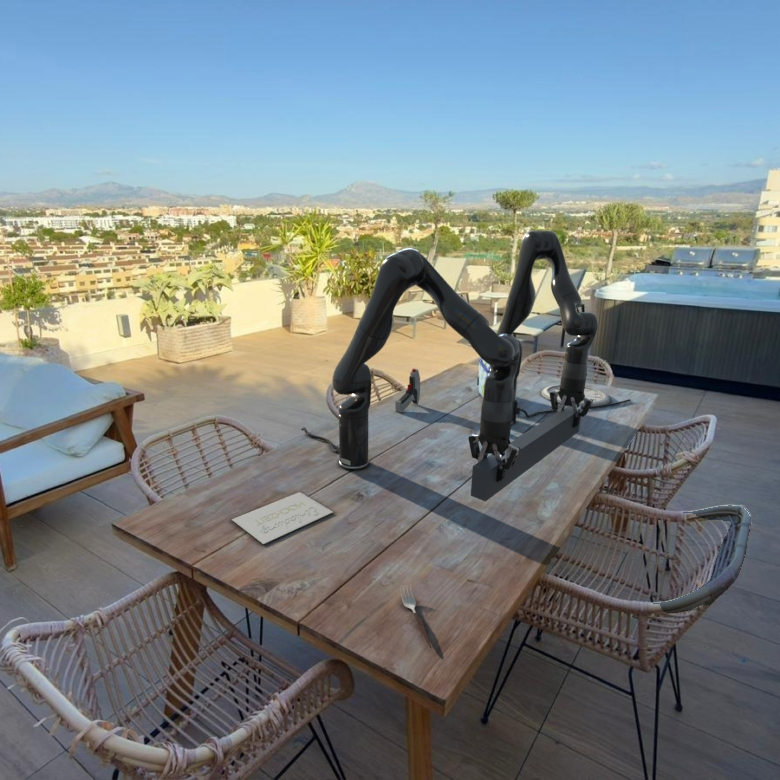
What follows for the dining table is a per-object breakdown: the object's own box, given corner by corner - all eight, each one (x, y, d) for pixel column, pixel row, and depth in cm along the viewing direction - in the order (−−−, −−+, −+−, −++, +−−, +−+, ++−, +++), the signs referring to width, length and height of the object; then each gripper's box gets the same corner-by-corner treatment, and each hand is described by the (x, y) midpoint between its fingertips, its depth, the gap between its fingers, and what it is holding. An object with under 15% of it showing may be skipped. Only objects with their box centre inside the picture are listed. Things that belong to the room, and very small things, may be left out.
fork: (423, 651, 94) (424, 642, 93) (398, 593, 109) (398, 585, 108) (437, 648, 95) (437, 639, 94) (410, 591, 109) (411, 583, 109)
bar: (566, 428, 178) (569, 405, 176) (578, 431, 175) (582, 408, 173) (470, 495, 132) (472, 465, 130) (485, 501, 129) (488, 471, 127)
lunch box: (475, 390, 246) (478, 346, 240) (498, 390, 246) (501, 347, 240) (484, 408, 221) (487, 360, 215) (509, 409, 221) (513, 360, 215)
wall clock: (623, 402, 226) (556, 403, 224) (623, 406, 227) (556, 407, 224) (592, 383, 255) (532, 383, 252) (591, 386, 255) (532, 386, 253)
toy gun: (394, 376, 210) (415, 366, 221) (395, 413, 216) (416, 402, 227) (399, 377, 209) (420, 367, 220) (400, 414, 215) (420, 403, 226)
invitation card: (299, 491, 149) (333, 511, 139) (299, 492, 149) (333, 512, 139) (231, 519, 134) (263, 543, 124) (231, 520, 134) (263, 544, 124)
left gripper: (463, 412, 130) (459, 474, 136) (515, 427, 122) (509, 492, 127) (478, 405, 136) (474, 464, 141) (529, 418, 127) (523, 481, 132)
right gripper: (547, 373, 168) (541, 422, 173) (592, 382, 159) (584, 434, 164) (557, 368, 173) (551, 416, 179) (600, 377, 165) (593, 427, 170)
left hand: (490, 477), depth 134 cm, fingers closed on bar, 4 cm apart
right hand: (567, 424), depth 171 cm, fingers closed on bar, 4 cm apart
